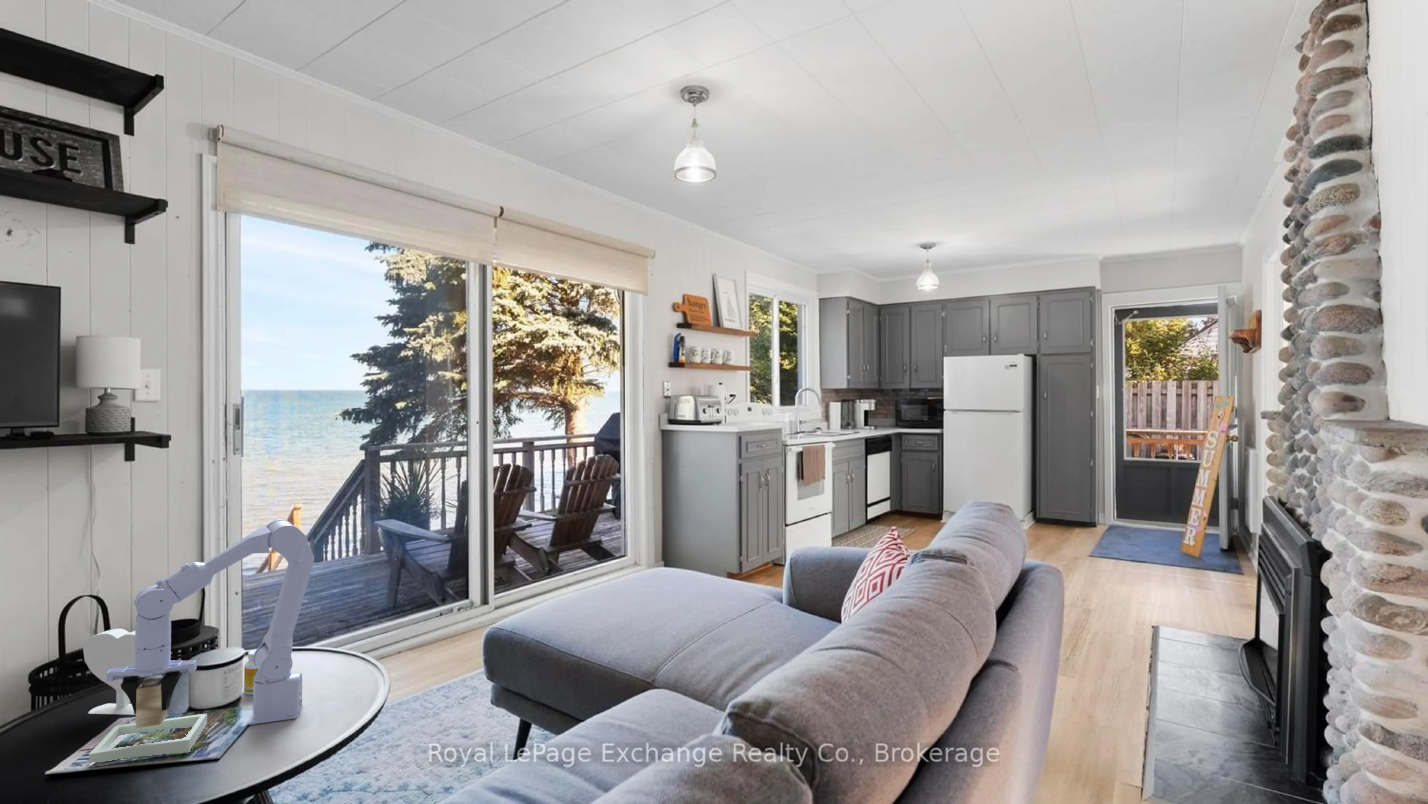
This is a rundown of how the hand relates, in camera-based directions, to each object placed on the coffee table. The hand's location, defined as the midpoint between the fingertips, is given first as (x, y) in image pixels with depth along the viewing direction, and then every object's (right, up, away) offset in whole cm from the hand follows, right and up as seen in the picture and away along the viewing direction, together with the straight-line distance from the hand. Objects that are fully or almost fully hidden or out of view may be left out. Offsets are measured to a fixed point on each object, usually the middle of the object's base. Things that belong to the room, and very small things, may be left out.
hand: (152, 709), depth 140 cm
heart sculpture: (-20, -7, +16) cm, 26 cm away
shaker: (0, -2, 0) cm, 2 cm away
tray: (0, -8, 0) cm, 8 cm away
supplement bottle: (+4, -8, +27) cm, 28 cm away
